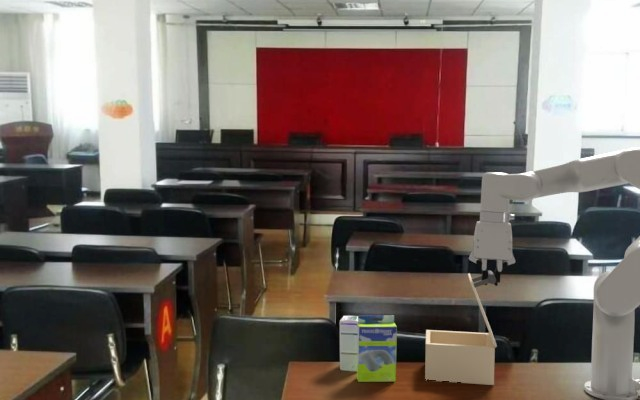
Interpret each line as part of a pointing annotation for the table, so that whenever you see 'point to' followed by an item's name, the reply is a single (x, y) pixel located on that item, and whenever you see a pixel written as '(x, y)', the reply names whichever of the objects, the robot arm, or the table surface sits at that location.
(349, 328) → the syrup box
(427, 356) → the cream hinged door cabinet
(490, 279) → the cream panel with handle
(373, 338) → the box
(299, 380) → the table surface
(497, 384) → the table surface
